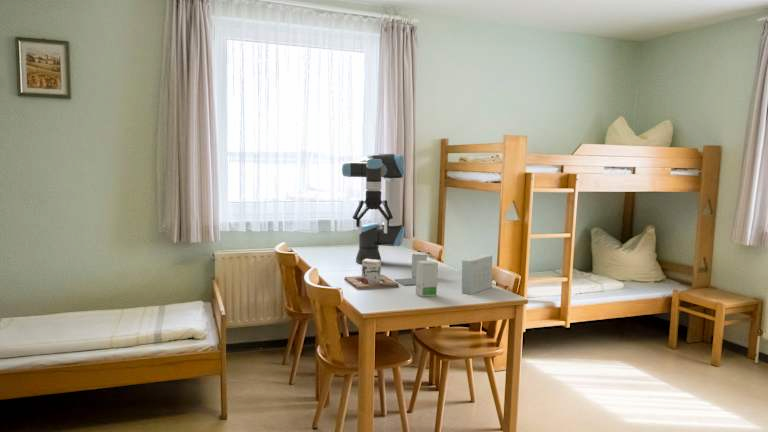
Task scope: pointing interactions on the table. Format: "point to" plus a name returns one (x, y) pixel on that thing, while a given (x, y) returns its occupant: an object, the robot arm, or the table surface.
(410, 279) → the mat
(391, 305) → the table surface
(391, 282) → the board
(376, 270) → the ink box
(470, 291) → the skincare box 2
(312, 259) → the table surface
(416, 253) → the supplement box
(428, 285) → the skincare box
